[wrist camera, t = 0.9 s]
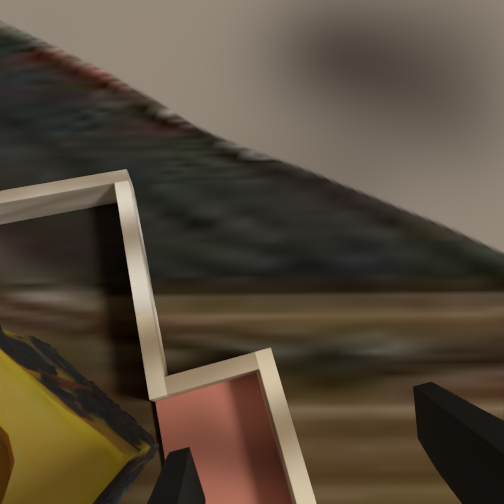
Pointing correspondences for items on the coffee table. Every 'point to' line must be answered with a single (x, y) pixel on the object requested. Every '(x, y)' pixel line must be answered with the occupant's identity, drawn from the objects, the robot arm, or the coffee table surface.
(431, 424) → the robot arm
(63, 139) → the coffee table surface
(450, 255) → the coffee table surface
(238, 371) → the trap channel
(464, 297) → the coffee table surface
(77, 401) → the candle
